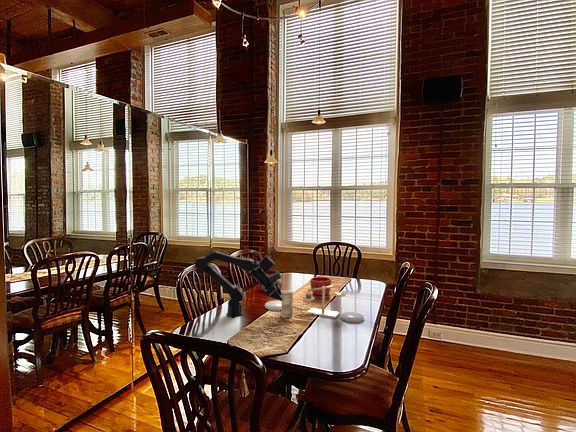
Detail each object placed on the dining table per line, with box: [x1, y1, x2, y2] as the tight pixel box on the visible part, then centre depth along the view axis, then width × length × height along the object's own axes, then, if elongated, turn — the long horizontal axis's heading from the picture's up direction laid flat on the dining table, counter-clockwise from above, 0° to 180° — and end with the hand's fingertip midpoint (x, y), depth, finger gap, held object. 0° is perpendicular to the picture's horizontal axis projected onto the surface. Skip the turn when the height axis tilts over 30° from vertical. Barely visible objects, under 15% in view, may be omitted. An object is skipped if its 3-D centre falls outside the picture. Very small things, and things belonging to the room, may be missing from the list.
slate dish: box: [340, 311, 364, 324], centre depth 185 cm, size 12×12×2 cm
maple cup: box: [280, 289, 294, 318], centre depth 188 cm, size 7×7×13 cm
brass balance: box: [301, 284, 347, 319], centre depth 191 cm, size 24×7×17 cm, turn 66°
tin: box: [260, 279, 282, 292], centre depth 234 cm, size 15×3×8 cm, turn 62°
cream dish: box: [264, 300, 282, 312], centre depth 202 cm, size 14×14×2 cm
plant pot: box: [310, 276, 332, 300], centre depth 222 cm, size 13×13×12 cm
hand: (282, 297), depth 188 cm, fingers open, 9 cm apart
